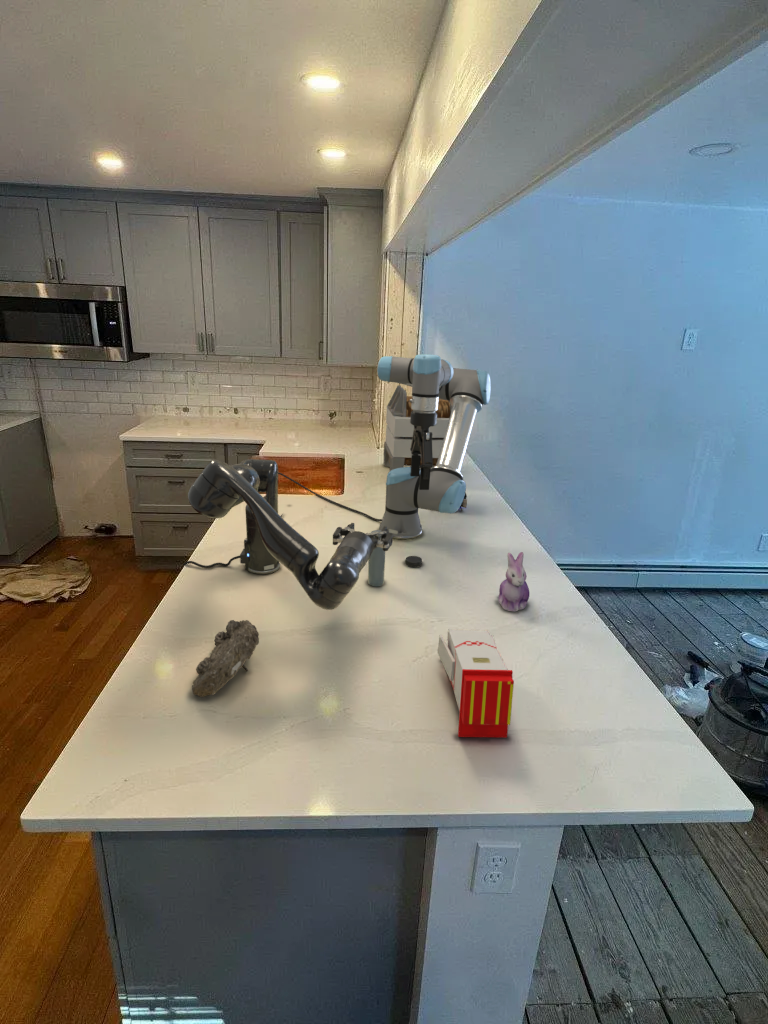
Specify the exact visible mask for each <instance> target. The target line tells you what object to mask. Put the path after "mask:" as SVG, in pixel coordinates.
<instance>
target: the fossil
mask: <svg viewBox="0 0 768 1024" xmlns="http://www.w3.org/2000/svg"><path fill="white" fill-rule="evenodd" d="M259 635H260V633H259V632H258V629H257V627H256V625H254V624H252V623H251V622H250V620H248V619H245V620H240V621H238V620H235V619H231V620H229V621H228V622H227V625H226V627H225V631H223V630H222V631H218V632H217V633H216V634H215V636H214V638H215V639H214V647H213V649H212V650H211V653H210V654H209V656H206V657H204V659H202V660H201V661H200V662H199V663H198V664H197V666H196V667H195V671H196V674H197V676H196V677H195V679H194V680H193V681H192V685H191V688H192V694H193V695H196V696H198V698H199V697H200V698H202V697H206V696H211V695H212V696H213V695H215V694H217V692H218V691H219V690H221V689H222V688H224V686H226V684H227V683H228V682H229V681H231V680H232V679H233V678H234V677H235V676H237V673H238V671H239V670H240V669H243V670H244V671H245V672H249V669H248V668H247V667H246V666H245V662H246V661H247V660H249V659H250V658H251V657H252V655H253V654H254V652H255V649H256V647H257V646H258V645H259V643H260V637H259Z"/></svg>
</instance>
